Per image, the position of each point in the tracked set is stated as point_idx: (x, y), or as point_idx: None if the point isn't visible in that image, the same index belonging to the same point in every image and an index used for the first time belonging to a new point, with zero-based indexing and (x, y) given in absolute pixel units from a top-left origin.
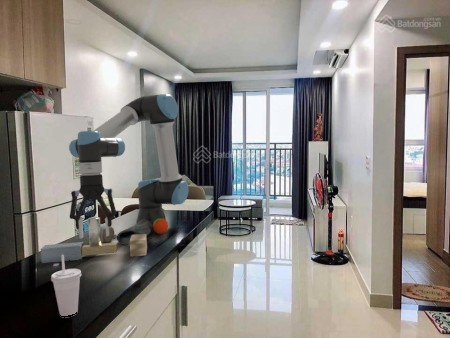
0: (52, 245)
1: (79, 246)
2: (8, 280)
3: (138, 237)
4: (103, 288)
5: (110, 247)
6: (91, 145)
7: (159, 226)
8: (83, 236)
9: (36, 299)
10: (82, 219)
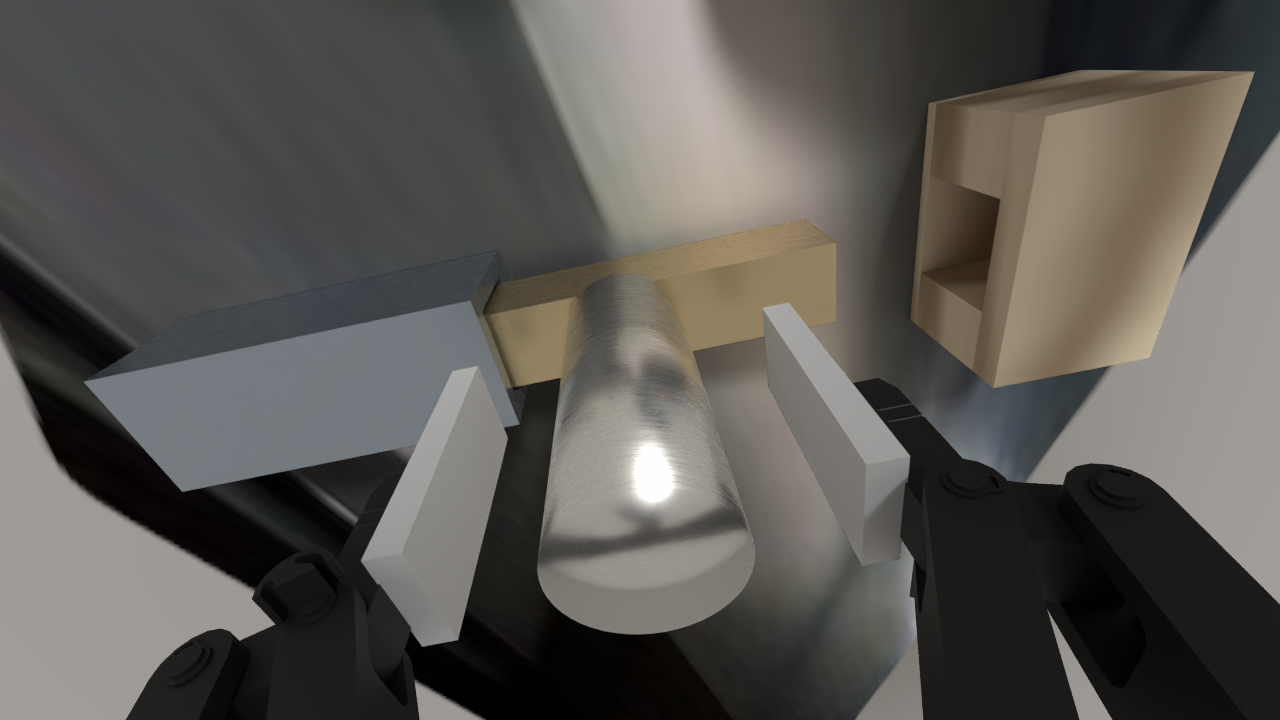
0: (195, 404)
1: (511, 422)
2: None
3: (1104, 265)
4: (813, 661)
5: None
6: None
7: None
8: (478, 368)
9: (603, 717)
10: (405, 543)
